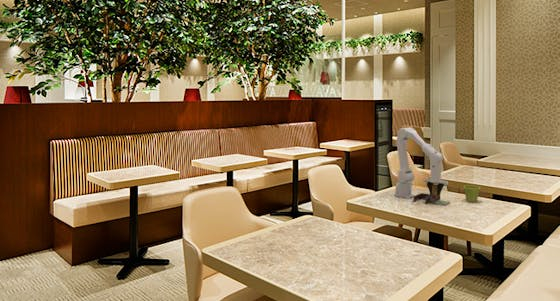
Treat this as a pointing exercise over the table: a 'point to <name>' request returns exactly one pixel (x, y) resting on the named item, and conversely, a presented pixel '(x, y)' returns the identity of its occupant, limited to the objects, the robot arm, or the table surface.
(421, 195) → the walled course
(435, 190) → the peg
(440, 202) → the end pad
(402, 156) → the robot arm
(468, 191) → the plant pot
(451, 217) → the table surface
